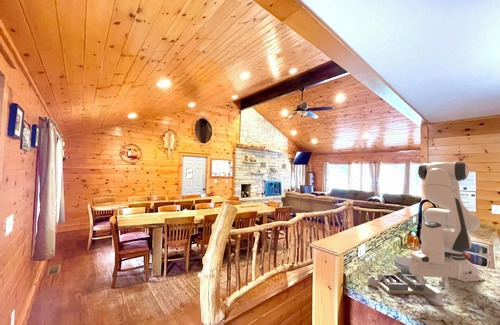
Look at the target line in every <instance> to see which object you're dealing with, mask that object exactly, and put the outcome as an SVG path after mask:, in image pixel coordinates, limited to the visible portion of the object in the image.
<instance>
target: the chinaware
mask: <svg viewBox="0 0 500 325" xmlns="http://www.w3.org/2000/svg"><path fill="white" fill-rule="evenodd" d="M411 258H412V257H407V256H395V257H393V263H394V266H395V267H396V269H398V271H399V272H401V274H403V275H413V274H411V273H410V271H409V261H410V259H411Z"/></svg>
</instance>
